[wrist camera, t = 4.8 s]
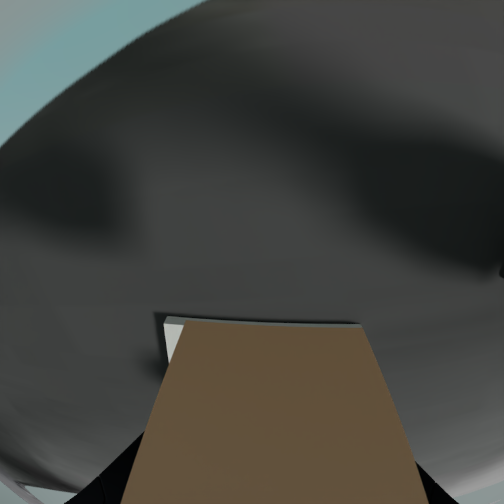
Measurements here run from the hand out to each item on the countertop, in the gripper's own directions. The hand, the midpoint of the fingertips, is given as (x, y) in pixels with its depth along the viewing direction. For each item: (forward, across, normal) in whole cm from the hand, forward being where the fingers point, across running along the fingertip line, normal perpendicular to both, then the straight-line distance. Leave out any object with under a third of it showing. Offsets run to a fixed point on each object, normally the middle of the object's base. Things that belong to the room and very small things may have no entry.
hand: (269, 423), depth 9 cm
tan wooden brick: (+2, 0, 0) cm, 2 cm away
